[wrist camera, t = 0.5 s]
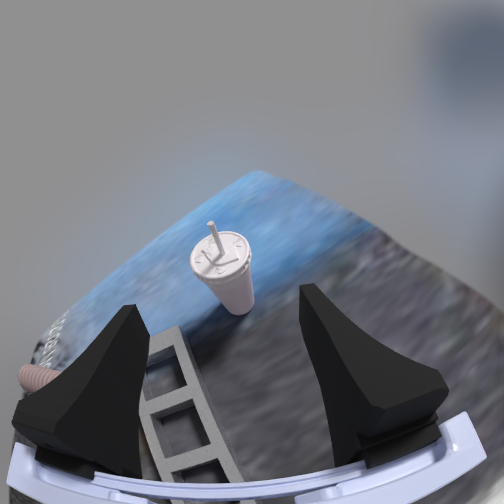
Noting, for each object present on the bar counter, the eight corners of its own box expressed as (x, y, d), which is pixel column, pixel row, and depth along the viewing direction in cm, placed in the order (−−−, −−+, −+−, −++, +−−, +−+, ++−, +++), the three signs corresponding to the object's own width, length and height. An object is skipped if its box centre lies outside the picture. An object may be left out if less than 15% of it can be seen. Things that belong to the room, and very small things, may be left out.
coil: (97, 372, 27) (21, 357, 30) (88, 407, 24) (12, 382, 26) (117, 387, 30) (39, 372, 33) (110, 419, 27) (32, 395, 30)
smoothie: (250, 332, 33) (215, 256, 22) (206, 314, 35) (160, 239, 25) (273, 290, 36) (252, 205, 26) (231, 276, 39) (198, 195, 28)
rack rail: (268, 512, 18) (264, 517, 16) (197, 531, 17) (188, 536, 15) (185, 333, 34) (177, 324, 32) (133, 356, 33) (123, 349, 31)
